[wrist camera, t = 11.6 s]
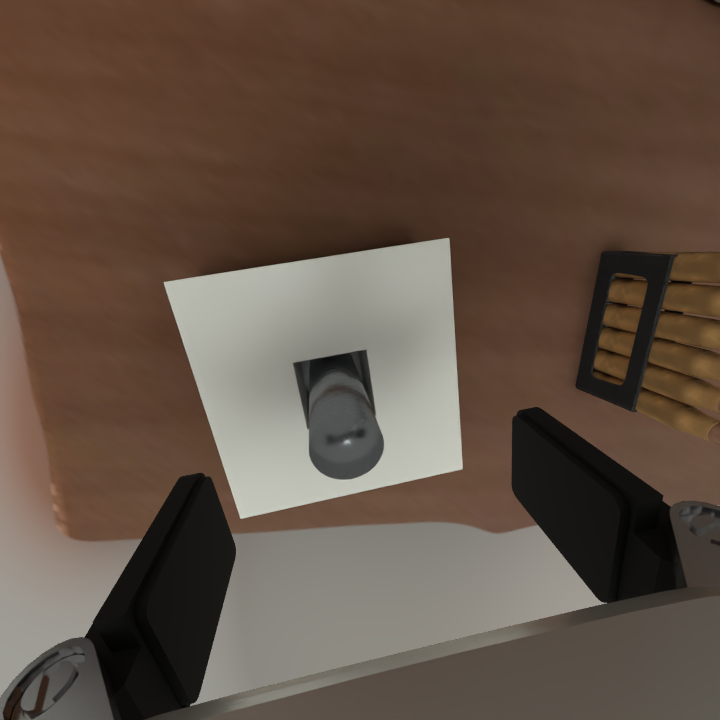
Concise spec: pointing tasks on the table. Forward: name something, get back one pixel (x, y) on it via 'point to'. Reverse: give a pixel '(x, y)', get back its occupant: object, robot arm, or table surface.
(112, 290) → the table surface
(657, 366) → the ammunition clip
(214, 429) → the socket block
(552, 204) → the table surface
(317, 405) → the pin
